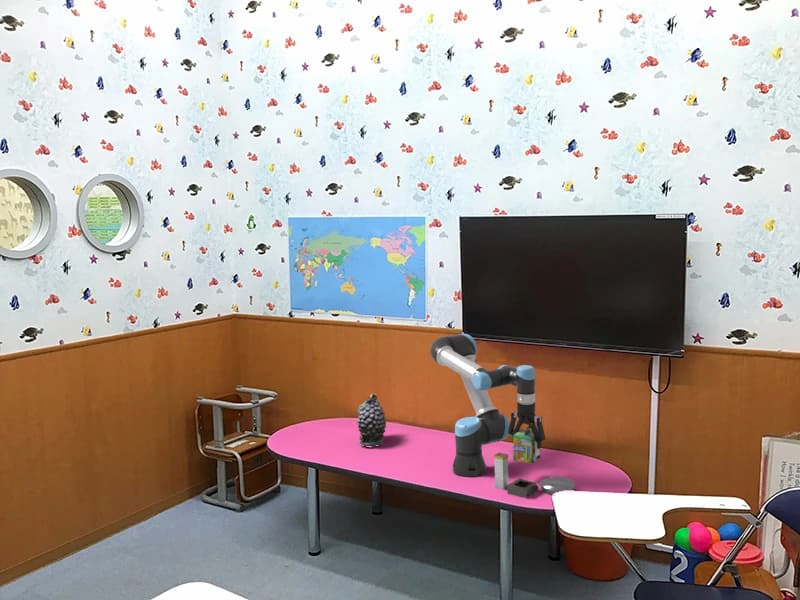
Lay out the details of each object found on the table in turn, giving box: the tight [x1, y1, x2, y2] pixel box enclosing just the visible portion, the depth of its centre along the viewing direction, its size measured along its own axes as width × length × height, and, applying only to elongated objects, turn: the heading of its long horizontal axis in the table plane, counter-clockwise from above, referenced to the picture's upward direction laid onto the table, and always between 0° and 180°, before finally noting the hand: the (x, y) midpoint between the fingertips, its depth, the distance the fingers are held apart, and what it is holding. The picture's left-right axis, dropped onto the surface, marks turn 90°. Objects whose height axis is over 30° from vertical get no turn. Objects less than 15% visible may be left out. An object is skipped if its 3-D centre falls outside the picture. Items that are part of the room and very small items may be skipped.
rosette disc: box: [539, 476, 576, 496], centre depth 286 cm, size 14×14×2 cm
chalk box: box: [512, 425, 541, 465], centre depth 296 cm, size 9×9×15 cm
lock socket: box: [506, 478, 539, 499], centre depth 284 cm, size 9×9×4 cm
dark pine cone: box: [356, 392, 387, 446], centre depth 355 cm, size 21×15×25 cm
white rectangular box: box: [493, 452, 510, 490], centre depth 290 cm, size 4×4×14 cm
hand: (526, 453), depth 297 cm, fingers closed on chalk box, 9 cm apart
